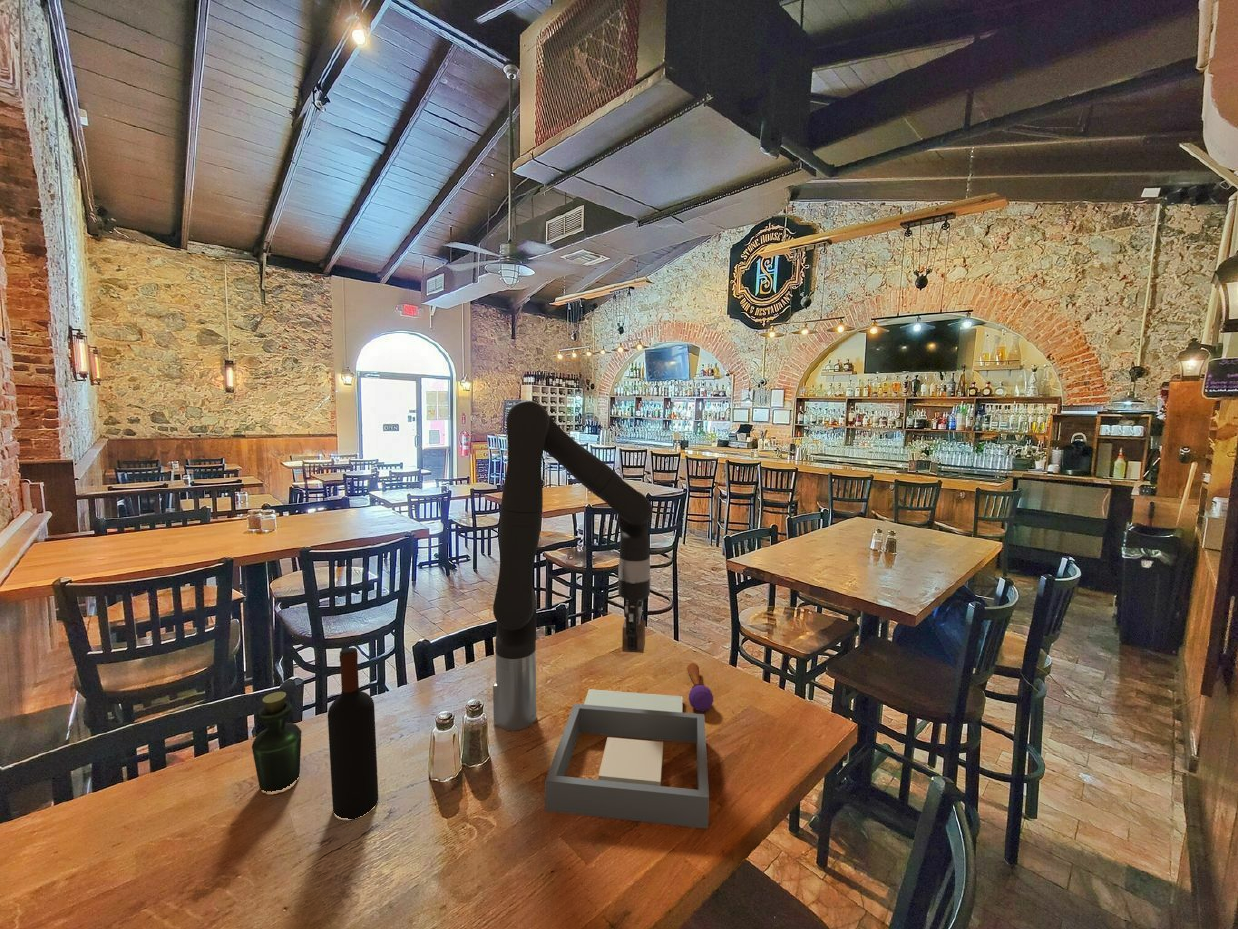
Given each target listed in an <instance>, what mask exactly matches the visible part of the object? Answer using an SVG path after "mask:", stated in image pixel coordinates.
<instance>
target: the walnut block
mask: <svg viewBox="0 0 1238 929" xmlns="http://www.w3.org/2000/svg"><path fill="white" fill-rule="evenodd" d="M637 621H638V620H637ZM630 630H635V629H634V628H630ZM621 638H622V641H621V642H622V645H621V646H622V647H621V648H622V649H621V650H622V651H621V652H623V653H624V652H625V653H634V654H635V653H637V654H638V653H639V654H644V652H645V646H646V619H640V624H639V625H638V635H637V650H628V636H626V623H625V620H624V621H623V624H622V637H621Z"/></svg>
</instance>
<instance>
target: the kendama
mask: <svg viewBox="0 0 1238 929" xmlns="http://www.w3.org/2000/svg"><path fill="white" fill-rule="evenodd" d="M686 671H687V674H688V675H689V677H690V679H691V681H692V683H693V684H694V685H692V688H690V691H689V693H688V702H689V705H690V706H691V707H692V709H694V710H696V711H697V712H706V711H708V710H709V709H711V707H712V705H713V703H714V695H713V692H712V690H711V689H710V688H709V687H708V686H706V685H704V684H702V683H700V668H699V665H698V664H697V663H695V662H693V663H689V664H688V665H687V667H686Z"/></svg>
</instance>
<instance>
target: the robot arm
mask: <svg viewBox="0 0 1238 929" xmlns="http://www.w3.org/2000/svg"><path fill="white" fill-rule="evenodd" d="M506 437H507V439H506V440H507V464H506V465H507V466H506V471H505V477H504V482H503V488H502V494H501V495H502V496H501V504H500V512H499V513H500V514H499V542H498V544H499V572H498V580H497V586H496V590H495V597H494V601H493V605H492V612H493V617H494V618H495V619H494V620H496V623H497V624H496V634H495V683H494V684H493V685H492V700H493V701H492V702H493V706H492V707H493V710H492V711H493V725H494V726H498V727H500V728H501V729H503V730H505V731H506V730H507V731H520V730H524V729H527V728H529V727H530V726H532V725H533V724H534V723H535V722H536V720H537V651H536V650H537V649H536V647H537V645H536V644H537V642H536V641H537V594H536V591H535V589H534V587H533V571H534V563H535V559H536V555H537V550H538V545H539V541H540V535H541V530H542V529H541V528H542V521H543V520H542V518H543V508H544V506H543V504H544V502H543V501H544V500H543V499H544V496H543V494H544V491H543V478H542V477H543V476H542V462H543V456H544V452H545V453H547V455H549V456H550V457H551V458H553V459H554V460H556V461H557V463H559V464H560V465H561V466H562V467H563V468H564V469H565V470H566V471H567V472H568V473H570V475H571V476H572V477H573V478H575V479H576V481H578V482H579V483H580V484H581V485H583V487H585V488H586V489H587V490H588V491H589V492H591V493H592V494H593V495H595V496H596V497H598V499H600V500H601V501H603V502H605V503H606V504H607V505H608V506H609V507H610V508H611V509H612V510H613V511H614V512H615V513H616V514H617V515H618V523H619V532H620V534H619V536H620V538H619V561H618V576H617V577H618V581H617V583H618V584H617V585H618V586H617V587H618V588H617V593H618V595H619V597H621V598H622V599H624V600H625V601H626V602H625V604H624V612H625V614H624V615H625V619H624V621H625V623H626V636H628V650H637V635H638V625H639V624H640V620H642V617H643V616H642V615H643V605H644V601H643V600H645V599H647V598H648V597H650V595H651V562H650V538H649V535H648V534H649V533H648V529H647V527H648V526H647V525H648V521H649V520H650V518H651V517H652V513H653V508H652V507H653V506H652V503H651V502H650V500H649V499H648V498H647V497H646V496H645V495H644V494H643V493H642V492H640V491H638V490H637V489H635V488H634V487H633V486H631V485H630V484H628V483H627V482H626V481H625V480H623V478H622V477H621V476H620V475H619V474H618V473H617V472H616V471H614V469H612V468H611V467H610V466H609V465H608V464H606V463H605V462H604V461H602V460H601V459H600V458H598V457H597V456H596V455H595V454H593V453H592V452H590V451H589V450H588V449H586V448H585V447H584V446H582V445H581V444H580V443H578V442H577V441H575V440H574V439H573V438H572V437H571V436H570V435H568V434H567V432H565V431H564V430H563V429H562V428H561V427H560V426H559V425H558V424H557V423H556V421H554V419H553V418H552V417H551V416H550V414H549V413H548V411H547V410H546V408H545V407H544V406H543V405H542V404H541V403H539V402H537V401H534V400H521V401H519V402H517V403H514V404H513V405H512V407H511V408H510V409H509V410H508V413H507V415H506ZM637 620H638V621H637ZM630 628H634V629H635V630H630Z"/></svg>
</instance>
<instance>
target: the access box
mask: <svg viewBox="0 0 1238 929" xmlns="http://www.w3.org/2000/svg"><path fill="white" fill-rule="evenodd" d="M580 734H585V735H586V734H588V735H600V736H607V738H606V742H605V746H604V751H603V756H602V758H601V764H600V768H599V771H598V777H597V778H598V779H594V778H593V779H592V778H584V777H576V776H575V777H574V776H566V775H567V772H568V768H569V766H570V763H571V760H572V757H573V755H574V751H575V748H576V746H577V745H576V744H577V743H578V742H577V741H578V738H579V737H580V736H579V735H580ZM622 737H623V738H622ZM706 738H707V737H706V725H705V714H703V713H691V712H682V713H681V712H669V711H657V710H645V709H633V708H621V707H608V706H596V705H584V703H583V704H581V703H573V705H572V708H571V711H570V714H569V716H568V719H567V721H566V725H565V727H564V729H563V732H562V735H561V737H560V741H559V743H558V746H557V747H556V750H555V753H554V756H553V759H552V761H551V763H550V767H549V770H548V772H547V775H546V777H545V780H544V800H545V801H544V802H545V803H544V811H545V812H552V813H558V814H559V813H561V814H570V815H576V816H577V815H580V816H587V817H598V818H607V819H615V820H624V821H625V820H626V821H633V822H635V821H636V822H643V823H653V824H661V825H668V826H669V825H670V826H671V825H672V826H680V827H689V828H699V829H707V830H708V829H709V810H710V809H709V808H710V792H709V774H708V772H709V771H708V760H707V759H708V757H707V741H706V740H707V739H706ZM643 739H644V740H643ZM663 741H667V742H677V743H678V742H679V743H686V744H696V771H697V772H696V774H697V775H696V776H697V778H696V779H697V789H694V788H693V789H692V788H681V787H674V786H673V787H672V786H663V785H662V773H663V757H664V742H663Z"/></svg>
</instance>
